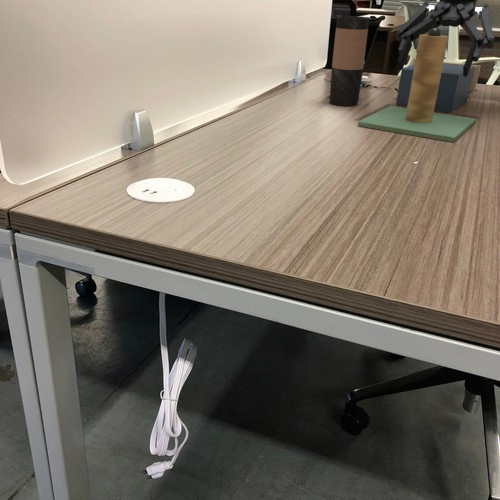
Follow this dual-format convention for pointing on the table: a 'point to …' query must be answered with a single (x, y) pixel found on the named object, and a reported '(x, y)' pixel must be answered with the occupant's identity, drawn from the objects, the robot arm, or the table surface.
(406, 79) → the cabinet
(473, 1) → the robot arm
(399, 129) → the mat
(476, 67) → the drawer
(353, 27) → the travel mug
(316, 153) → the table surface
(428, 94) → the pepper mill
